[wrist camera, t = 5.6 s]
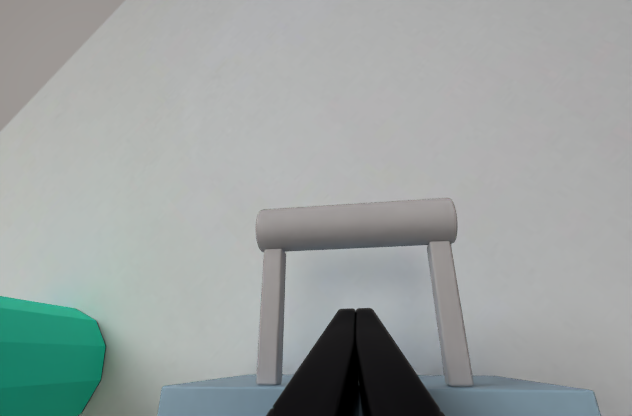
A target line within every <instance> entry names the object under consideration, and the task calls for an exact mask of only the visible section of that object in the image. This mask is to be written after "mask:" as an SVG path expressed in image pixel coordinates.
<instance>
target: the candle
mask: <svg viewBox="0 0 632 416" xmlns="http://www.w3.org/2000/svg"><path fill="white" fill-rule="evenodd" d="M105 347H106V346H105V343H104V341H103V338H102V335H101V333H100V330H99V327H98V325H97V322H96V320H94V319H92V318H91V317H89V316H87V315H86V314H84V313H82V312H80V311H79V310H77V309H75V308H69V307H63V306H57V305H51V304H45V303H38V302H32V301H26V300H20V299H14V298H8V297H2V296H0V416H78V415H79V414H80V413H82V411H83V409H84V407H85V406H86V404H87V402H88V401H89V399H90V397H91V396H92V394H93V392H94V391H95V389H96V387H97V385H98V384H99V382H100V380H101V375H102V368H103V361H104V354H105Z"/></svg>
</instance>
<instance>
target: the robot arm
mask: <svg viewBox="0 0 632 416" xmlns="http://www.w3.org/2000/svg"><path fill="white" fill-rule="evenodd" d="M360 400H361V409H362V416H445V415H444V413H443V412H441V411H440V408H439V406H438V405H437V403H436V402H435V400H434V399H433V397H432V396H431V394H430V393H429V392H428V390H427V389H426V387H425V386H424V384H423V383H422V381H421V380H420V378H419V377H418V375H417V374H416V372H415V371H414V369H413V368H412V366H411V365H410V364H409V362H408V361H407V359H406V358H405V356H404V355H403V353H402V352H401V350H400V349H399V347H398V346H397V344H396V343H395V341H394V340H393V338H392V337H391V335H390V334H389V333H388V331H387V330H386V328H385V327H384V325H383V324H382V322H381V321H380V319H379V318H378V316H377V315H376V313H375V312H374V310H373V309H371V308H358V309H357V310H356V311H355V309H340V310H338V312H337V313H336V315H335V316H334V318H333V319H332V320H331V322H330V323H329V325H328V326H327V328H326V329H325V331H324V332H323V334H322V335H321V336H320V338H319V339H318V341H317V342H316V344H315V345H314V347H313V348H312V350H311V351H310V352H309V354H308V355H307V357H306V358H305V360H304V361H303V363H302V364H301V366H300V367H299V368H298V370H297V371H296V373H295V374H294V376H293V377H292V379H291V380H290V382H289V383H288V384H287V386H286V387H285V389H284V390H283V392H282V393H281V395H280V396H279V398H278V399H277V400H276V402H275V403H274V405H273V408H271V409H270V410H269V412H268V413H267V415H266V416H359V405H360Z"/></svg>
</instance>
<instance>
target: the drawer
mask: <svg viewBox="0 0 632 416" xmlns="http://www.w3.org/2000/svg"><path fill="white" fill-rule="evenodd" d="M456 236H457V215H456V210H455V206H454V204H453V201H452V200H451V199H449V198H438V199H422V200H407V201H391V202H375V203H359V204H343V205H327V206H312V207H296V208H280V209H264V210H261V211H259V213H258V215H257V219H256V239H257V243H258V246H259V249H260V250H261V251H262V252H264V260H263V277H262V293H261V310H260V327H259V343H258V360H257V375H242V376H234V377H227V378H220V379H212V380H205V381H197V382H190V383H183V384H175V385H168V386H163V387H162V390H161V397H160V403H159V410H158V416H266V415H267V413H268V412H269V410H270V409H271V408H273V405H274V403H275V402H276V400H277V399H278V398H279V396H280V395H281V393H282V392H283V390H284V389H285V387H286V386H287V384H288V383H289V382H290V380H291V379H292V377H293V376H294V375H282V360H283V330H284V300H285V271H286V253H285V252H284V251H305V250H327V249H349V248H371V247H393V246H415V245H428V247H427V252H428V260H429V267H430V274H431V282H432V289H433V296H434V304H435V311H436V319H437V326H438V333H439V341H440V348H441V356H442V363H443V370H444V376H421V375H418V377H419V378H420V380H421V381H422V383H423V384H424V386H425V387H426V389H427V390H428V392H429V393H430V394H431V396H432V397H433V399H434V400H435V402H436V403H437V405H438V406H439V408H440V411H441V412H443V413H444V415H445V416H601V414H600V411H599V407H598V404H597V400H596V397H595V394H594V392H593V391H592V390H587V389H580V388H574V387H567V386H560V385H553V384H547V383H540V382H533V381H526V380H520V379H513V378H506V377H499V376H472V370H471V364H470V358H469V352H468V346H467V340H466V334H465V328H464V322H463V316H462V310H461V304H460V298H459V292H458V285H457V279H456V273H455V267H454V261H453V255H452V249H451V244H452V243H454V242H455V240H456ZM359 416H362V409H361V400H360V405H359Z"/></svg>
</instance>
